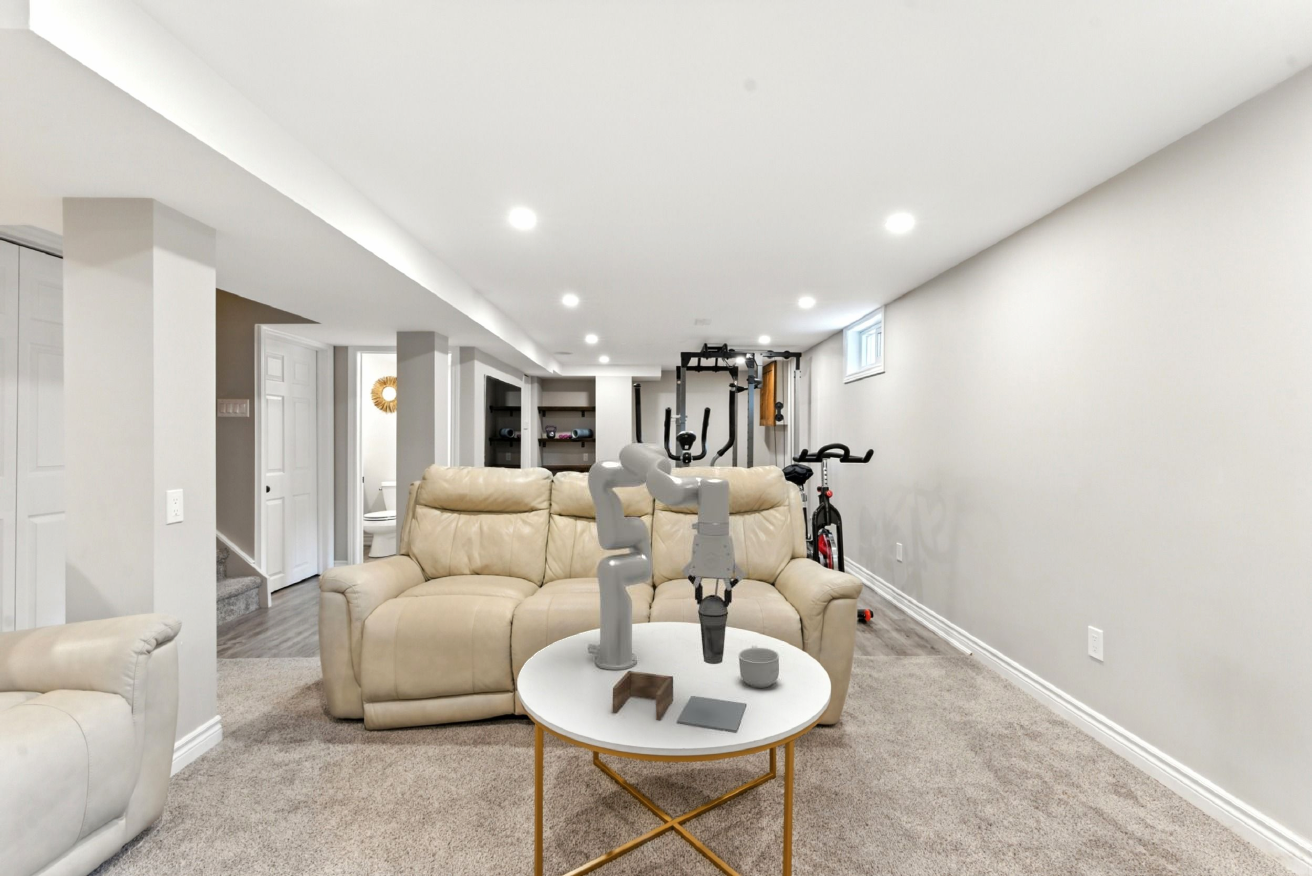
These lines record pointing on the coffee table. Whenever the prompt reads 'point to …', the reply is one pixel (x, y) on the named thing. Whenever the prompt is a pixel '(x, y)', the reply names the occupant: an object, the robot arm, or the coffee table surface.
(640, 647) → the coffee table surface
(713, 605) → the beverage cup
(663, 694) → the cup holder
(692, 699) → the slate mat
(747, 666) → the teacup
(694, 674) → the coffee table surface
